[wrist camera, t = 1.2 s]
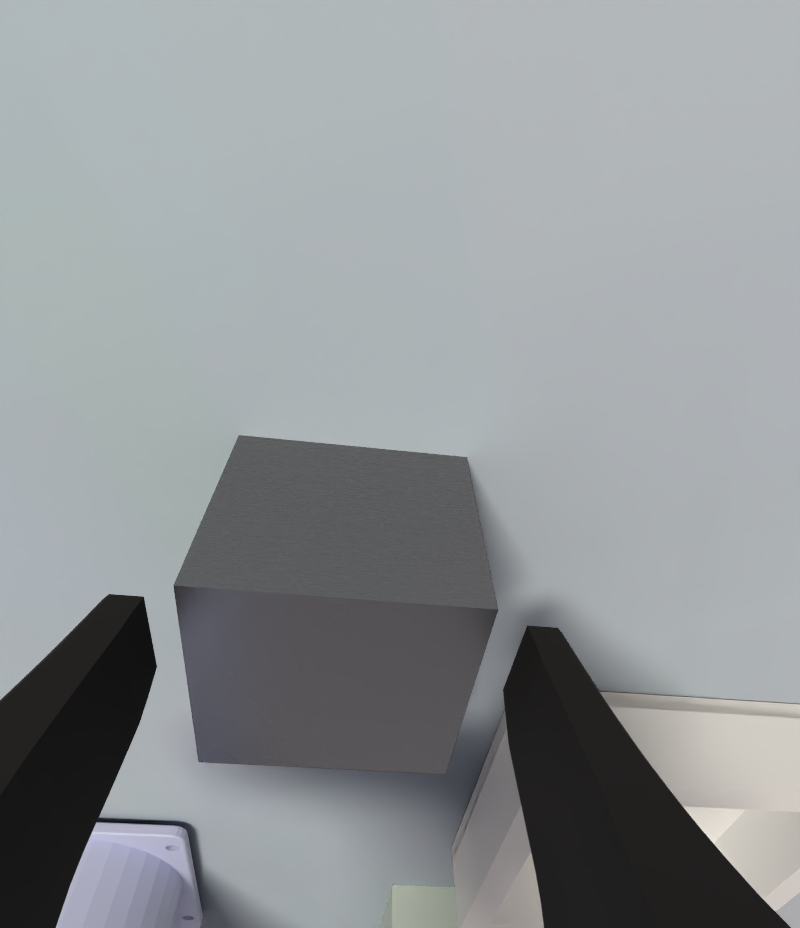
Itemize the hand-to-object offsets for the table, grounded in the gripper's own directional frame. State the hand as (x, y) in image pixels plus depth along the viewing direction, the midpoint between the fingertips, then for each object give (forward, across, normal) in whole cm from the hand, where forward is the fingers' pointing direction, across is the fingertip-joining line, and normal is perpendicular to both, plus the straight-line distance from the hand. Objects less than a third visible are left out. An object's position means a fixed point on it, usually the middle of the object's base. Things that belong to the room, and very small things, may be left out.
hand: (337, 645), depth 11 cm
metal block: (+3, 0, 0) cm, 4 cm away
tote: (+3, -11, +11) cm, 16 cm away
